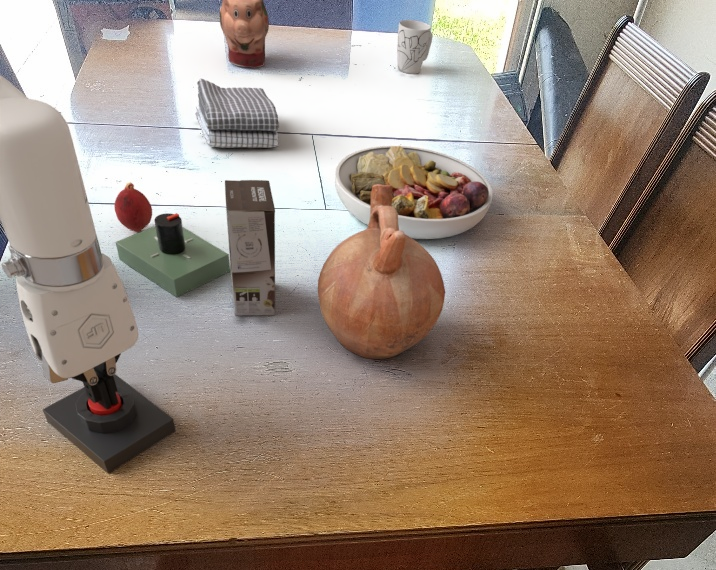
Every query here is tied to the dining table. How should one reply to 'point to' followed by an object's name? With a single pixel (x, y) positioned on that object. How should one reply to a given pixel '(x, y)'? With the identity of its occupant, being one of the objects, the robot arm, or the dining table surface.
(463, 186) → the bowl
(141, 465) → the dining table surface
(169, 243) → the dial
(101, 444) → the button block
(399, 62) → the mug
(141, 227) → the red oval fruit
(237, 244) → the coffee box
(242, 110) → the towel
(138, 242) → the dial panel
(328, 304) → the jug
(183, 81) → the dining table surface
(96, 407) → the button
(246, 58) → the pig figurine
